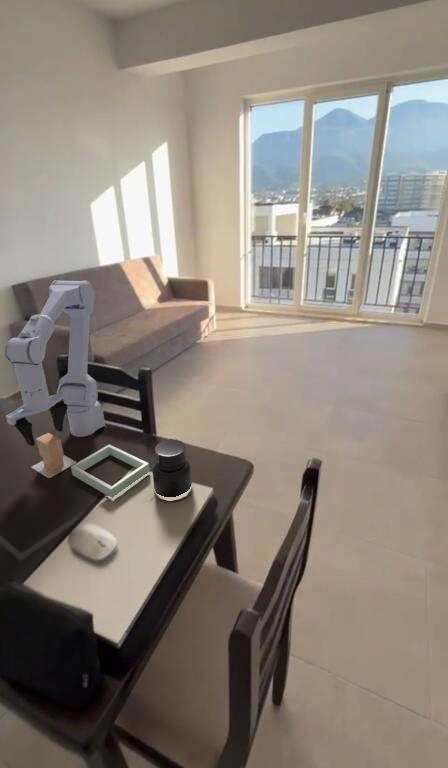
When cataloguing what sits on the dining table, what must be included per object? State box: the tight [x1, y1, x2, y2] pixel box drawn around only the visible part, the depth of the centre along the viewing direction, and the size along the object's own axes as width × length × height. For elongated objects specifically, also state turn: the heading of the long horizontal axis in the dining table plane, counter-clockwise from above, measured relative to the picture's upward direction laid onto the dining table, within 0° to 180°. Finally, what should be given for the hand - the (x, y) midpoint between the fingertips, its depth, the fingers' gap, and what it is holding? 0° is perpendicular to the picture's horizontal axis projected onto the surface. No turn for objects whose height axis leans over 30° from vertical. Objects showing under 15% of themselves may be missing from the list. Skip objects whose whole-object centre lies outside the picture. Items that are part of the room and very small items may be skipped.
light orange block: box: [35, 432, 65, 470], centre depth 98 cm, size 3×5×8 cm, turn 55°
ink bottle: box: [152, 439, 193, 497], centre depth 89 cm, size 10×9×12 cm
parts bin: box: [70, 444, 151, 498], centre depth 96 cm, size 12×15×4 cm
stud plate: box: [30, 454, 78, 479], centre depth 99 cm, size 8×8×4 cm
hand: (45, 437), depth 96 cm, fingers open, 7 cm apart
